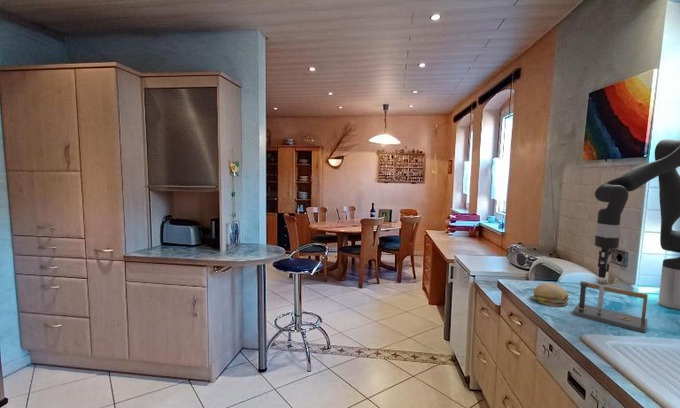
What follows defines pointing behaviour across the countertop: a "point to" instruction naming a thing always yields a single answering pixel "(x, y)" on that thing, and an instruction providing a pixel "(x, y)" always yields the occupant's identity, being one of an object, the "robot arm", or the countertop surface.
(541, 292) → the burger
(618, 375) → the countertop surface
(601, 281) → the grey elongated rounded piece
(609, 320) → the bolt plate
